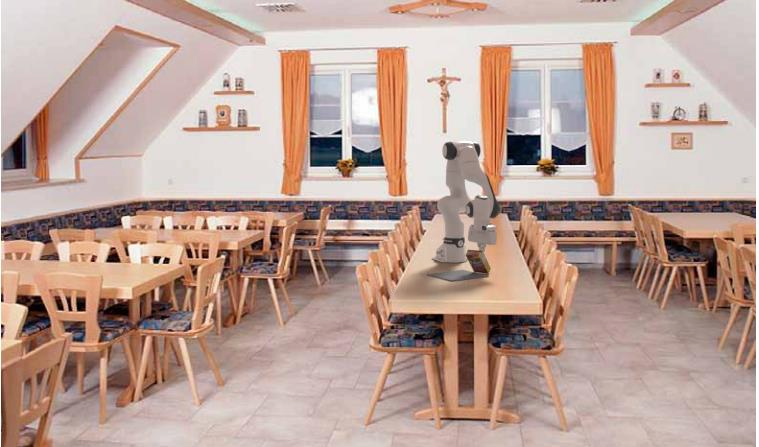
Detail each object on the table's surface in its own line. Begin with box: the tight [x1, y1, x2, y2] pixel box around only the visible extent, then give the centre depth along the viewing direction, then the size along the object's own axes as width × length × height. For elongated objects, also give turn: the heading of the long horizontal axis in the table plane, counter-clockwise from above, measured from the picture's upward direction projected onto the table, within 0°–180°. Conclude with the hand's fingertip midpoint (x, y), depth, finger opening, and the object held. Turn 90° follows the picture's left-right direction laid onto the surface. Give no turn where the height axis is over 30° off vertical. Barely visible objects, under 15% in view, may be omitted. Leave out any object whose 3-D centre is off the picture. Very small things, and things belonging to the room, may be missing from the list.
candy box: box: [466, 249, 492, 275], centre depth 413 cm, size 9×4×15 cm
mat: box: [426, 269, 489, 283], centre depth 409 cm, size 22×24×1 cm
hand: (481, 251), depth 416 cm, fingers closed
